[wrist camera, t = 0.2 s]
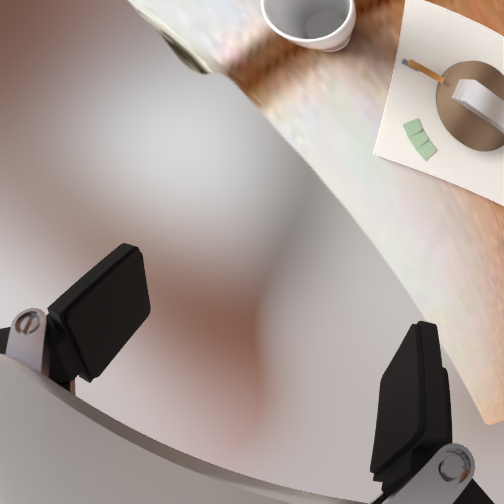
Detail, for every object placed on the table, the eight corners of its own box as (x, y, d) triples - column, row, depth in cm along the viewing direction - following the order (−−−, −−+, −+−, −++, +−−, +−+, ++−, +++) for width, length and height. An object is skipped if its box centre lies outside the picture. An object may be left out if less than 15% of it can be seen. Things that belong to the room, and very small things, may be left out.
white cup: (368, 24, 26) (371, -12, 14) (340, 69, 30) (327, 60, 18) (315, -4, 26) (284, -49, 14) (288, 41, 30) (243, 20, 18)
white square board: (405, -3, 23) (407, -6, 22) (547, 67, 19) (554, 68, 18) (373, 152, 34) (373, 155, 33) (508, 206, 30) (513, 211, 29)
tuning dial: (522, 94, 22) (551, 100, 16) (490, 163, 28) (513, 182, 22) (421, 26, 23) (434, 14, 18) (390, 101, 29) (397, 105, 23)
